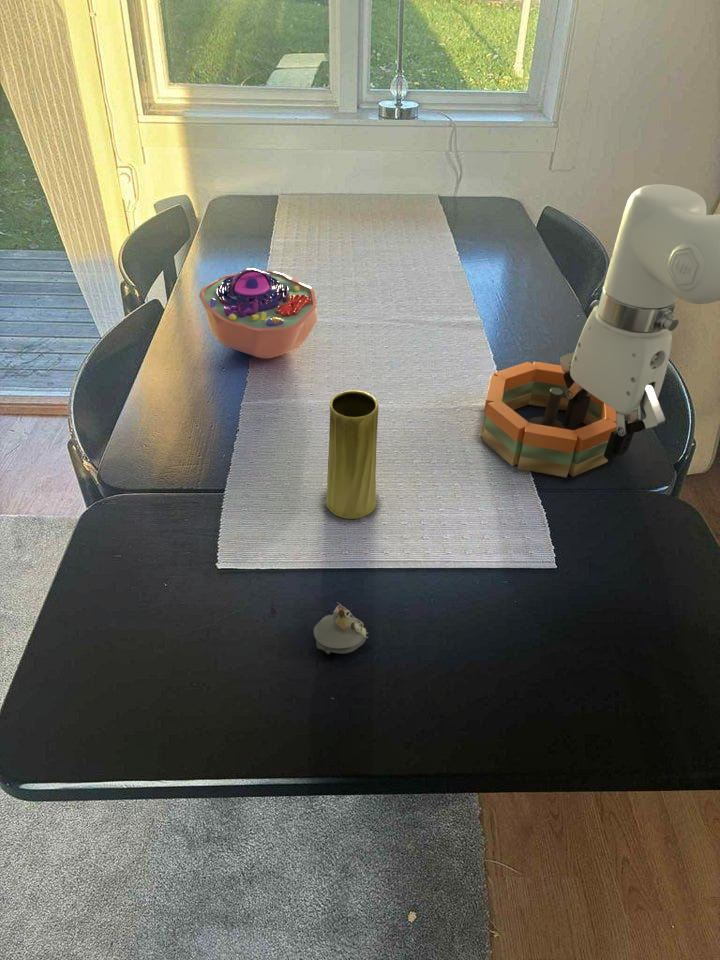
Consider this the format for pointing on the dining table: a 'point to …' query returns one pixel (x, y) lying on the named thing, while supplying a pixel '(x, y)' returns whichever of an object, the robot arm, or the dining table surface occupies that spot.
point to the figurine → (339, 632)
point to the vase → (352, 455)
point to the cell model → (260, 312)
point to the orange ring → (541, 433)
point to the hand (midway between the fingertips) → (593, 438)
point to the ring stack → (552, 400)
